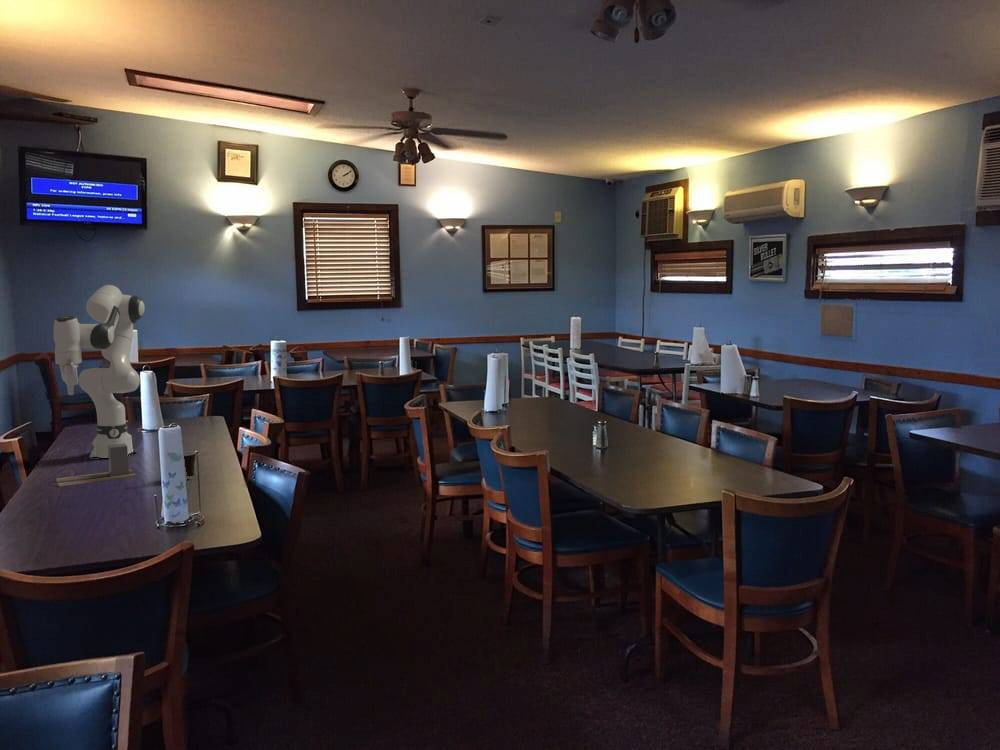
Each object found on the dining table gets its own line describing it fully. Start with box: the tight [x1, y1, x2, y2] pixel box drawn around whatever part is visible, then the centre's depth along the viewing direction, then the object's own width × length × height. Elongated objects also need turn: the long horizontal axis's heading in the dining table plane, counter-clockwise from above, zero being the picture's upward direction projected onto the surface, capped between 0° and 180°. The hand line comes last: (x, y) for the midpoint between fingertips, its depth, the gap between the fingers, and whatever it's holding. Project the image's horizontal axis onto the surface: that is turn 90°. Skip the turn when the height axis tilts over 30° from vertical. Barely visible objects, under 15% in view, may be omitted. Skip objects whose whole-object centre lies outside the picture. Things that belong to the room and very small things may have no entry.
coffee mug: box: [183, 450, 197, 477], centre depth 299 cm, size 12×9×10 cm
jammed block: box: [108, 443, 130, 477], centre depth 296 cm, size 6×6×12 cm
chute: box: [55, 469, 137, 487], centre depth 292 cm, size 10×26×2 cm, turn 124°
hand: (70, 394), depth 293 cm, fingers closed
